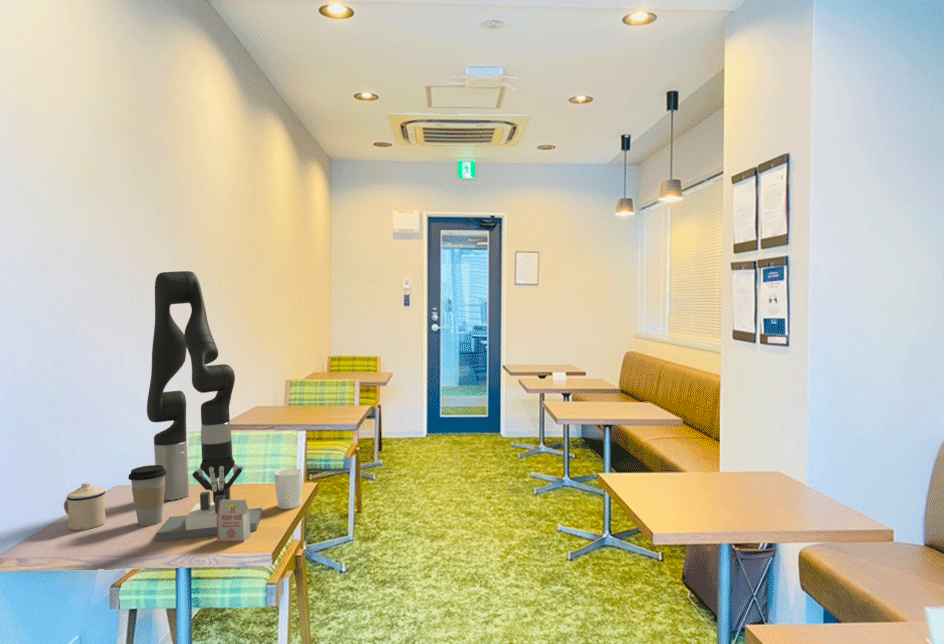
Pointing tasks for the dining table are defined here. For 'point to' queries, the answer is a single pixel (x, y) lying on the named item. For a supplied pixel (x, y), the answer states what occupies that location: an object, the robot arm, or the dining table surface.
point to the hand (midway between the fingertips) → (219, 504)
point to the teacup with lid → (85, 507)
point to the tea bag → (233, 521)
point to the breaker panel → (180, 527)
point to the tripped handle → (205, 500)
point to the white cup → (288, 488)
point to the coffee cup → (148, 493)
